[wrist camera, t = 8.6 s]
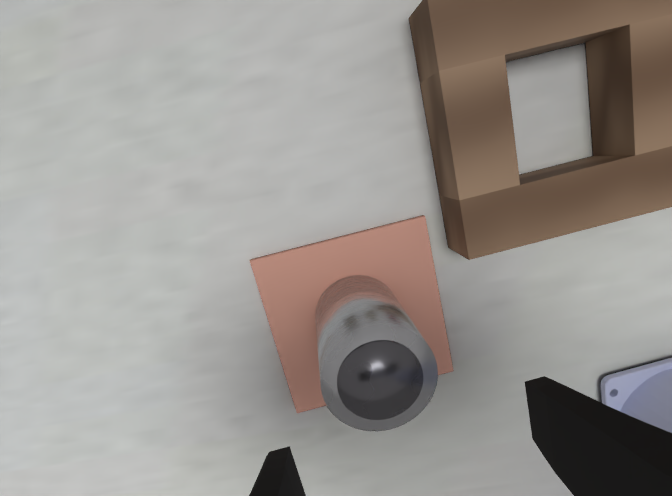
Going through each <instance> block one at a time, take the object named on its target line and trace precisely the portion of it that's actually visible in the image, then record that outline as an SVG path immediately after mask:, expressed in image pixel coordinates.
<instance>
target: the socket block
mask: <svg viewBox="0 0 672 496" xmlns="http://www.w3.org/2000/svg"><path fill="white" fill-rule="evenodd" d="M409 22H410V28H411V33H412V39H413V45H414V51H415V57H416V62H417V68H418V74H419V80H420V86H421V91H422V97H423V103H424V109H425V115H426V121H427V126H428V132H429V138H430V144H431V150H432V155H433V161H434V167H435V173H436V179H437V185H438V190H439V196H440V202H441V208H442V214H443V219H444V225H445V231H446V237H447V243H448V248H450V249H452V250H453V251H455V252H457V253H458V254H460V255H462V256H463V257H465V258H467V259H469V260H470V259H474V258H478V257H482V256H485V255H489V254H493V253H497V252H501V251H505V250H508V249H512V248H516V247H520V246H524V245H528V244H531V243H535V242H539V241H543V240H547V239H551V238H554V237H558V236H562V235H566V234H570V233H573V232H577V231H581V230H585V229H589V228H593V227H596V226H600V225H604V224H608V223H612V222H616V221H619V220H623V219H627V218H631V217H635V216H639V215H642V214H646V213H650V212H654V211H658V210H662V209H665V208H669V207H672V0H422V2H421V3H420V4H419V6H418V7H417V8H416V9H415V11H414V12H413V13H412V15H411V16H410V17H409ZM582 43H585V44H586V58H587V73H588V88H589V102H590V117H591V131H592V146H593V156H591V157H587V158H583V159H579V160H576V161H572V162H568V163H564V164H560V165H556V166H552V167H548V168H544V169H540V170H536V171H532V172H528V173H524V174H521V175H519V171H518V163H517V154H516V146H515V137H514V129H513V120H512V112H511V103H510V95H509V86H508V78H507V69H506V62H508V61H512V60H516V59H520V58H525V57H529V56H533V55H537V54H541V53H545V52H549V51H553V50H557V49H561V48H565V47H570V46H574V45H578V44H582Z"/></svg>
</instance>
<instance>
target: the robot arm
mask: <svg viewBox="0 0 672 496" xmlns="http://www.w3.org/2000/svg"><path fill="white" fill-rule="evenodd" d="M525 387H526V394H527V402H528V409H529V416H530V424H531V431H532V438H533V440H534V442H535V443H536V445H537V446H538V448H539V449H540V451H541V452H542V454H543V455H544V457H545V458H546V460H547V461H548V463H549V464H550V466H551V467H552V469H553V470H554V472H555V473H556V474H557V475H558V477H559V478H560V479H561V480H562V482H563V483H564V484H565V485H566V486H567V488H568V489H569V490H570V491H571V492H572V494H573V495H574V496H672V358H668V359H665V360H661V361H657V362H654V363H650V364H647V365H643V366H639V367H636V368H632V369H628V370H625V371H621V372H617V373H614V374H610V375H607V376H605V377H604V378H603V379H602V381H601V395H602V403H601V402H598V401H596V400H594V399H592V398H590V397H588V396H586V395H583V394H581V393H579V392H577V391H575V390H573V389H571V388H569V387H567V386H564V385H562V384H560V383H558V382H556V381H554V380H552V379H549V378H547V377H545V376H544V377H540V378H537V379H533V380H530V381H526V382H525ZM611 390H612V391H611ZM249 496H306V495H305V492H304V489H303V486H302V483H301V480H300V477H299V474H298V471H297V468H296V465H295V462H294V459H293V456H292V453H291V450H290V446H289V447H286V448H282V449H278V450H275V451H271V452H269V453H268V455H267V456H266V459H265V461H264V463H263V466H262V468H261V470H260V473H259V475H258V477H257V480H256V482H255V484H254V486H253V488H252V491H251V493H250V495H249Z"/></svg>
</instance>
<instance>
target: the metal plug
mask: <svg viewBox="0 0 672 496" xmlns="http://www.w3.org/2000/svg"><path fill="white" fill-rule="evenodd" d="M315 322H316V334H317V347H318V359H319V372H320V384H321V392H322V396H323V399H324V401H325V403H326V405H327V407H328V408H329V410H330V411H331V412H332V413H333V414H334V415H335V416H336V417H337V418H338V419H339V420H340V421H342V422H343V423H345V424H347V425H349V426H351V427H354V428H357V429H360V430H366V431H383V430H389V429H393V428H396V427H399V426H401V425H403V424H405V423H407V422H409V421H410V420H412V419H413V418H415V417H416V416H417V415H418V414H419V413H420V412H421V411H422V410H423V409H424V408H425V407H426V406H427V404H428V403H429V401H430V400H431V398H432V396H433V394H434V391H435V388H436V385H437V379H438V369H437V363H436V359H435V356H434V354H433V352H432V350H431V348H430V347H429V345H428V344H427V342H426V341H425V339H424V338H423V337H422V335H421V334H420V332H419V331H418V329H417V328H416V326H415V325H414V323H413V322H412V320H411V319H410V318H409V316H408V315H407V313H406V312H405V310H404V309H403V307H402V306H401V304H400V303H399V301H398V300H397V298H396V297H395V296H394V294H393V293H392V291H391V290H390V289H389V288H388V286H386V285H385V284H384V283H383V282H381V281H380V280H378V279H376V278H373V277H370V276H365V275H352V276H347V277H344V278H342V279H339V280H337V281H336V282H334V283H333V284H331V285H330V286H329V287H328V288H327V289H326V290H325V291H324V292H323V294H322V295H321V297H320V299H319V301H318V303H317V306H316V311H315Z"/></svg>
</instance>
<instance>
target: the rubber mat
mask: <svg viewBox="0 0 672 496" xmlns="http://www.w3.org/2000/svg"><path fill="white" fill-rule="evenodd" d="M250 263H251V266H252V270H253V273H254V276H255V279H256V283H257V286H258V289H259V292H260V295H261V299H262V302H263V305H264V308H265V312H266V315H267V318H268V321H269V324H270V328H271V331H272V334H273V337H274V341H275V344H276V347H277V350H278V353H279V357H280V360H281V363H282V366H283V370H284V373H285V376H286V379H287V382H288V386H289V389H290V392H291V395H292V399H293V402H294V405H295V408H296V411H297V413H300V412H304V411H308V410H311V409H315V408H319V407H322V406H326V403H325V401H324V399H323V396H322V392H321V384H320V372H319V359H318V347H317V334H316V322H315V311H316V306H317V303H318V301H319V299H320V297H321V295H322V294H323V292H324V291H325V290H326V289H327V288H328V287H329V286H330V285H331V284H333V283H334V282H336V281H337V280H339V279H342V278H344V277H347V276H352V275H365V276H370V277H373V278H376V279H378V280H380V281H381V282H383V283H384V284H385V285H386V286H388V288H389V289H390V290H391V291H392V293H393V294H394V296H395V297H396V298H397V300H398V301H399V303H400V304H401V306H402V307H403V309H404V310H405V312H406V313H407V315H408V316H409V318H410V319H411V320H412V322H413V323H414V325H415V326H416V328H417V329H418V331H419V332H420V334H421V335H422V337H423V338H424V339H425V341H426V342H427V344H428V345H429V347H430V348H431V350H432V352H433V354H434V356H435V359H436V363H437V369H438V375H441V374H445V373H448V372H452V371H453V366H452V360H451V355H450V349H449V344H448V339H447V333H446V328H445V322H444V317H443V311H442V306H441V301H440V295H439V290H438V284H437V279H436V273H435V268H434V262H433V257H432V252H431V246H430V241H429V235H428V230H427V224H426V219H425V216H424V215H422V216H418V217H415V218H411V219H407V220H403V221H399V222H395V223H391V224H387V225H383V226H379V227H376V228H372V229H368V230H364V231H360V232H356V233H352V234H348V235H344V236H340V237H336V238H333V239H329V240H325V241H321V242H317V243H313V244H309V245H305V246H301V247H297V248H294V249H290V250H286V251H282V252H278V253H274V254H270V255H266V256H262V257H258V258H254V259H251V260H250Z"/></svg>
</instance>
